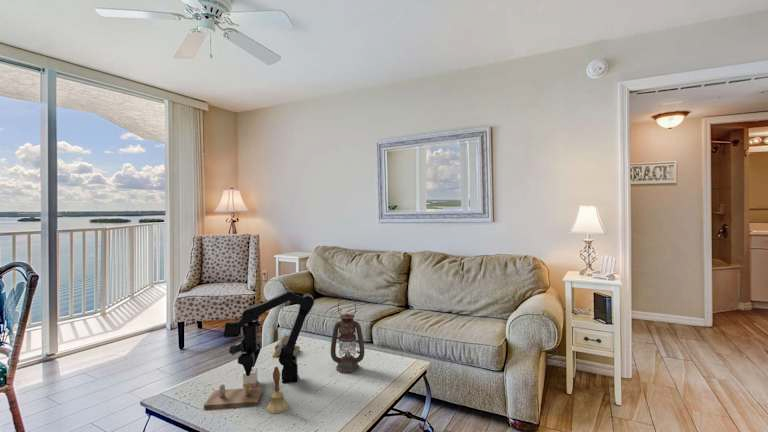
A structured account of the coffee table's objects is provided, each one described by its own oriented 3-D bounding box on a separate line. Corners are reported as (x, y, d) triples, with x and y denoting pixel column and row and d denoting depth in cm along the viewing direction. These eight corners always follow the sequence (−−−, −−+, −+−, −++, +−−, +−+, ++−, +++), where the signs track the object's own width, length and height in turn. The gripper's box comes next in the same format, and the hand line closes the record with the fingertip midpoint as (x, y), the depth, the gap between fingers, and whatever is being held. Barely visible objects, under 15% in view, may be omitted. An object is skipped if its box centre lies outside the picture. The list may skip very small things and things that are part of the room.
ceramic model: (283, 360, 189) (283, 340, 188) (268, 356, 195) (268, 337, 194) (303, 351, 201) (302, 333, 200) (288, 347, 206) (288, 329, 206)
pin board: (263, 390, 156) (263, 375, 156) (257, 405, 144) (257, 389, 144) (214, 393, 154) (214, 378, 154) (203, 409, 142) (203, 392, 142)
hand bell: (282, 414, 138) (281, 372, 137) (261, 412, 139) (261, 370, 139) (292, 403, 146) (291, 363, 145) (272, 401, 147) (272, 361, 147)
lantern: (363, 373, 172) (363, 298, 172) (329, 373, 172) (328, 299, 172) (365, 363, 183) (364, 293, 183) (332, 364, 183) (331, 293, 183)
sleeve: (257, 381, 165) (257, 367, 165) (255, 386, 160) (254, 372, 160) (245, 381, 165) (245, 368, 164) (243, 387, 160) (242, 373, 160)
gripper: (236, 330, 170) (237, 363, 171) (224, 344, 152) (225, 382, 152) (261, 328, 172) (262, 362, 172) (252, 343, 153) (253, 380, 153)
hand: (250, 371), depth 162 cm, fingers open, 9 cm apart
